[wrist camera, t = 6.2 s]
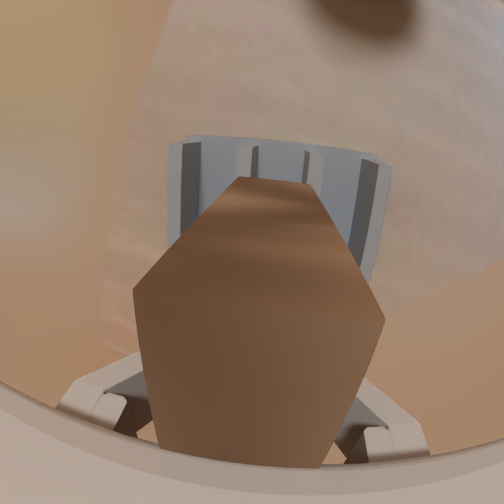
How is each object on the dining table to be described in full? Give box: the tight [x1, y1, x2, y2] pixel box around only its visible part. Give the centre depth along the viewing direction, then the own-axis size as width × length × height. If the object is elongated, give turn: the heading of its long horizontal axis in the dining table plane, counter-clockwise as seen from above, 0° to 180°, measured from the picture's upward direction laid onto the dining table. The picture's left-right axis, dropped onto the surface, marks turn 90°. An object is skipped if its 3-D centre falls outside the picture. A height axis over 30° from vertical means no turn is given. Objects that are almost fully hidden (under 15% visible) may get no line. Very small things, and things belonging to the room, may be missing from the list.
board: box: [133, 176, 386, 469], centre depth 8 cm, size 2×9×8 cm, turn 175°
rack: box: [168, 135, 392, 285], centre depth 25 cm, size 16×13×6 cm
